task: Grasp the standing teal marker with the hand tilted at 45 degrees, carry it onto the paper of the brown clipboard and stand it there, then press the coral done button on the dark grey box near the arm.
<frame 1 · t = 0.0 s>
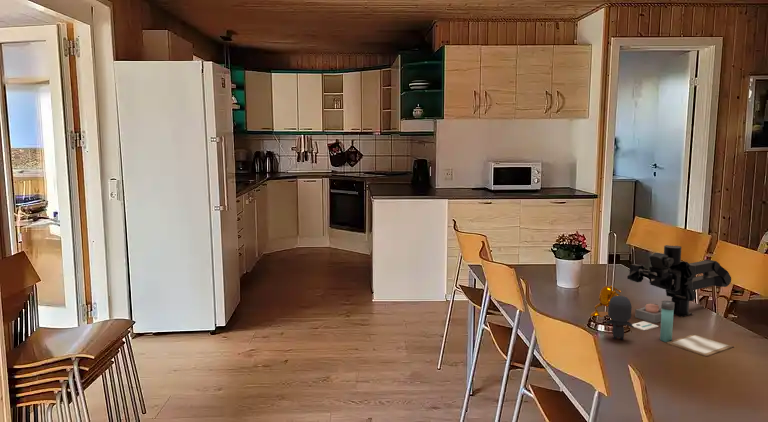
hand: (639, 280, 201), 17 cm above the table, tool horizontal, fingers open, 9 cm apart
marker: (665, 340, 189), on the table
figurine: (605, 317, 213), on the table
toy: (618, 340, 190), on the table
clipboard: (699, 345, 184), on the table
button box: (651, 318, 211), on the table
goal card: (643, 326, 203), on the table
done button: (651, 309, 211), point 3 cm above the table, slide at 0.0 cm
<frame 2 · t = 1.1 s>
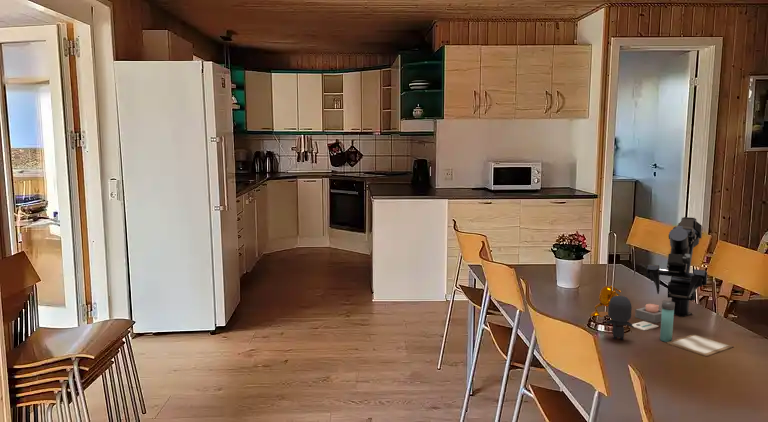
hand: (672, 295, 193), 14 cm above the table, tool tilted 45°, fingers open, 9 cm apart
nothing on the table moved.
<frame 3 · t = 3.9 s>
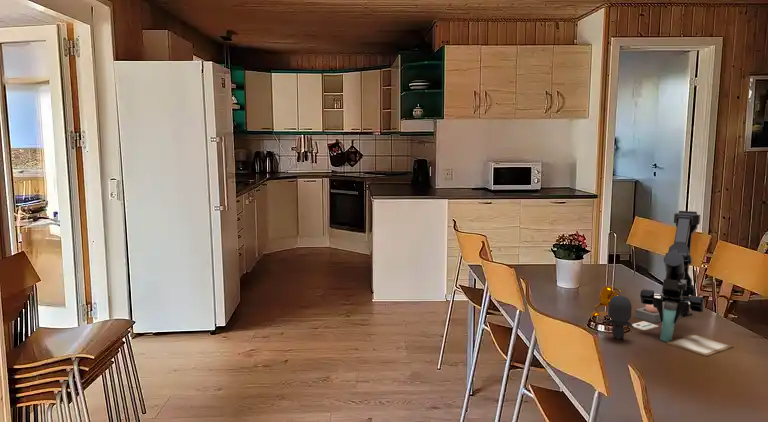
hand: (668, 322, 186), 7 cm above the table, tool tilted 45°, fingers closed on marker, 4 cm apart
marker: (665, 339, 189), on the table, touching gripper
everything else where it was.
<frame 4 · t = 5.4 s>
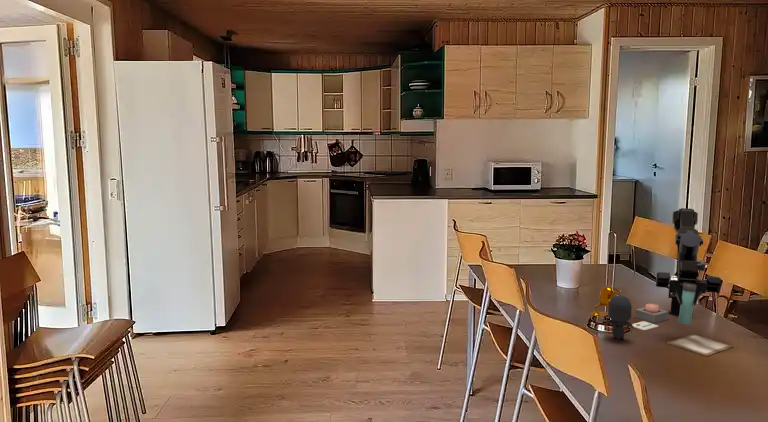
hand: (687, 304, 183), 14 cm above the table, tool tilted 45°, fingers closed on marker, 4 cm apart
marker: (684, 322, 185), point 7 cm above the table, touching gripper
everything else where it was.
when the fingers open (8 cm above the table, at t = 7.1 s): marker stays where it is, resting on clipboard.
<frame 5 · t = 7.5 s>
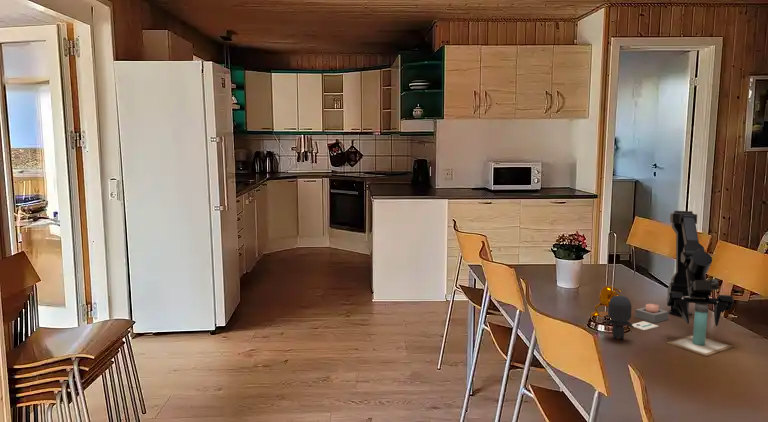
hand: (702, 324, 182), 8 cm above the table, tool tilted 45°, fingers open, 8 cm apart
marker: (698, 343, 184), point 1 cm above the table, touching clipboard
everything else where it was.
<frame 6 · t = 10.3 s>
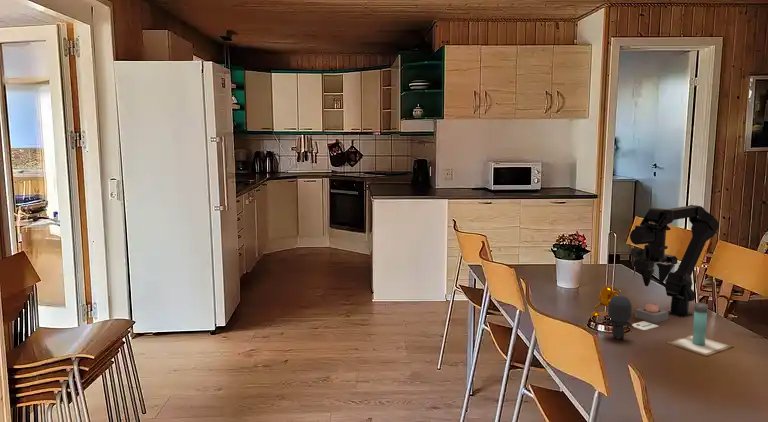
hand: (653, 284, 209), 13 cm above the table, tool pointing down, fingers open, 8 cm apart
nothing on the table moved.
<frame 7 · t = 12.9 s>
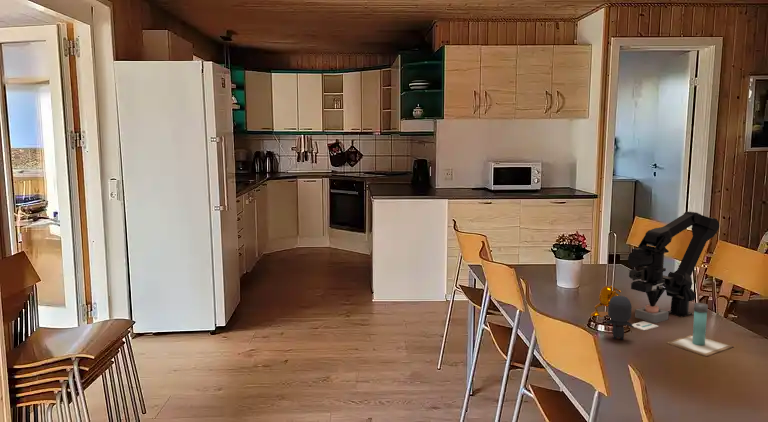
hand: (652, 306, 210), 5 cm above the table, tool pointing down, fingers closed, pressing on done button
done button: (651, 310, 211), point 3 cm above the table, slide at 0.3 cm, touching gripper
everything else where it was.
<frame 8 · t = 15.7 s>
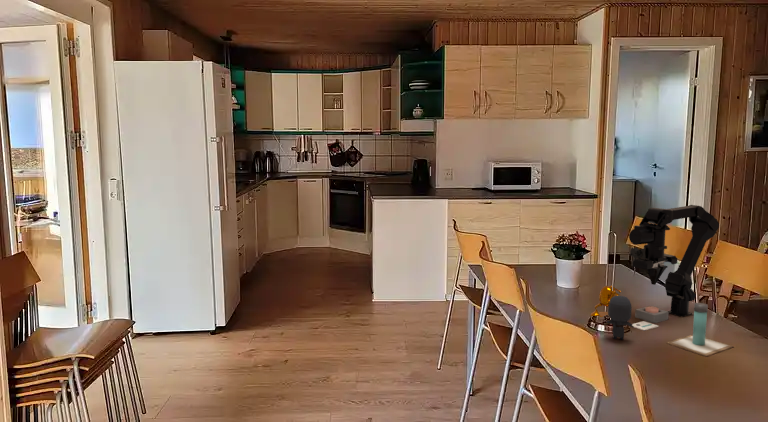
hand: (653, 284, 209), 13 cm above the table, tool pointing down, fingers closed
done button: (651, 312, 211), point 2 cm above the table, slide at 1.0 cm
everything else where it was.
at the end: marker inside the target area on the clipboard (0.4 cm from its centre), point 0.5 cm above the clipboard's base; marker tilted 1°; done button slide at 1.0 cm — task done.
